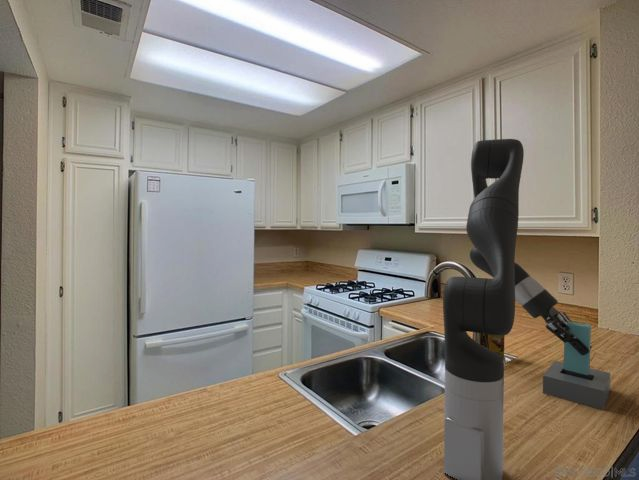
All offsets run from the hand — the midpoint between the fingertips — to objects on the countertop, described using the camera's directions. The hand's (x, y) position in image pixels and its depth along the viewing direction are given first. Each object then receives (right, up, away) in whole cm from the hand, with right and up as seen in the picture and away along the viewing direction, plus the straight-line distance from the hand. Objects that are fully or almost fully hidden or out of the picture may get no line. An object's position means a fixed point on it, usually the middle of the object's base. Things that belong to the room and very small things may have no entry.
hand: (587, 351), depth 85 cm
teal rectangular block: (-1, -5, +2) cm, 6 cm away
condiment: (-11, -11, +26) cm, 30 cm away
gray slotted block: (-1, -11, +2) cm, 11 cm away
